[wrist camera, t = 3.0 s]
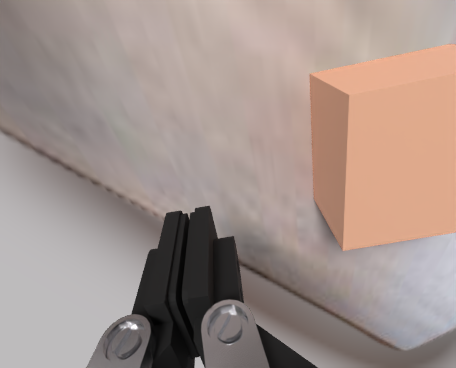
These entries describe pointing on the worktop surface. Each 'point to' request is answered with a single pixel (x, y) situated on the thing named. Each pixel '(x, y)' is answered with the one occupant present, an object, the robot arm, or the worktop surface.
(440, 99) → the peach block
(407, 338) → the worktop surface
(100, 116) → the worktop surface
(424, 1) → the worktop surface
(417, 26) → the worktop surface
